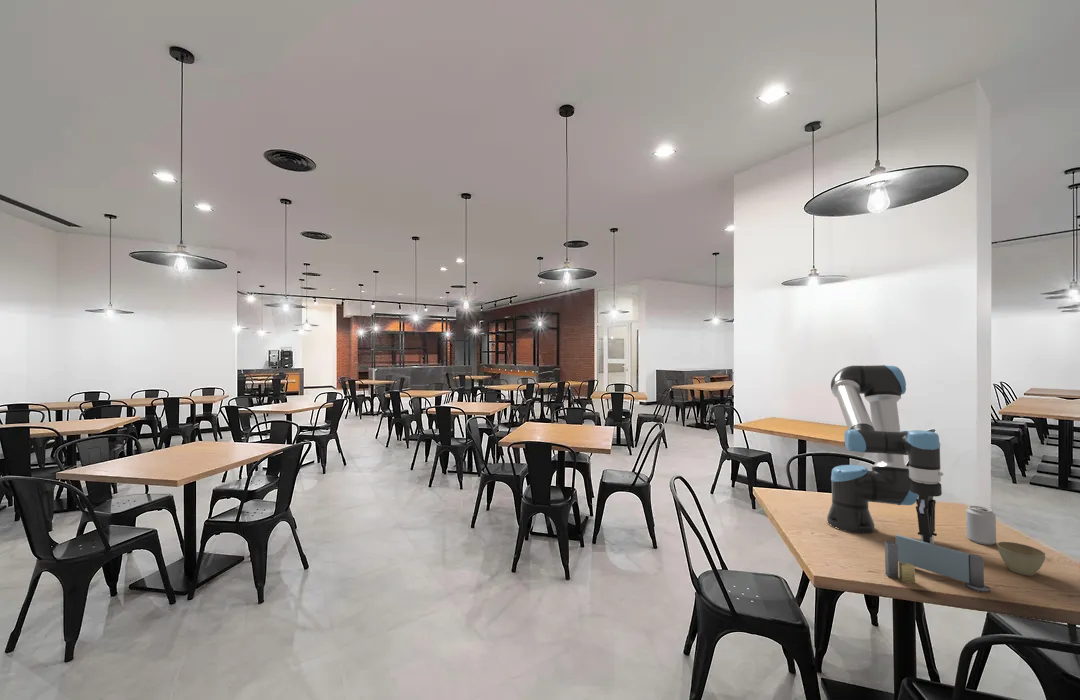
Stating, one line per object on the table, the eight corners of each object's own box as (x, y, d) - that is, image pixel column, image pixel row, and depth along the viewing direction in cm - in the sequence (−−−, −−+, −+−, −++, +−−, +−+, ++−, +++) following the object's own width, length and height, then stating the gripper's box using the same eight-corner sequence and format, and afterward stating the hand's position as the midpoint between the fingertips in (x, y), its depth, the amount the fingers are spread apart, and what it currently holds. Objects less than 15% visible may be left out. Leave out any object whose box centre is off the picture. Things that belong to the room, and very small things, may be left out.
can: (1002, 546, 150) (1001, 512, 150) (977, 545, 152) (976, 510, 152) (985, 537, 158) (984, 504, 158) (961, 536, 159) (960, 503, 159)
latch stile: (891, 580, 128) (890, 546, 128) (885, 573, 132) (884, 540, 132) (914, 583, 126) (914, 549, 126) (908, 576, 130) (907, 543, 130)
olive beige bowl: (988, 564, 137) (987, 542, 137) (1016, 563, 138) (1015, 540, 138) (1026, 580, 127) (1025, 556, 127) (1056, 579, 128) (1055, 554, 128)
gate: (985, 585, 123) (984, 557, 123) (982, 588, 122) (982, 559, 122) (898, 558, 140) (897, 534, 140) (895, 561, 138) (894, 536, 138)
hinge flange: (965, 588, 123) (965, 585, 123) (964, 581, 127) (964, 579, 127) (990, 594, 120) (990, 591, 120) (988, 587, 124) (988, 584, 124)
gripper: (936, 487, 129) (939, 567, 128) (945, 479, 137) (948, 554, 136) (904, 482, 135) (907, 558, 134) (914, 474, 143) (917, 546, 142)
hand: (928, 556), depth 135 cm, fingers closed
